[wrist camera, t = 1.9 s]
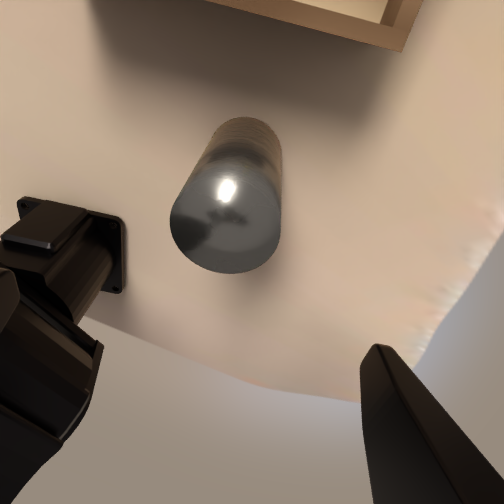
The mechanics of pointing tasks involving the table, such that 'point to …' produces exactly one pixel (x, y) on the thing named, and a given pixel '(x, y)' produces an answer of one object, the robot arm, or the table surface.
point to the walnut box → (342, 17)
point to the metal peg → (232, 200)
